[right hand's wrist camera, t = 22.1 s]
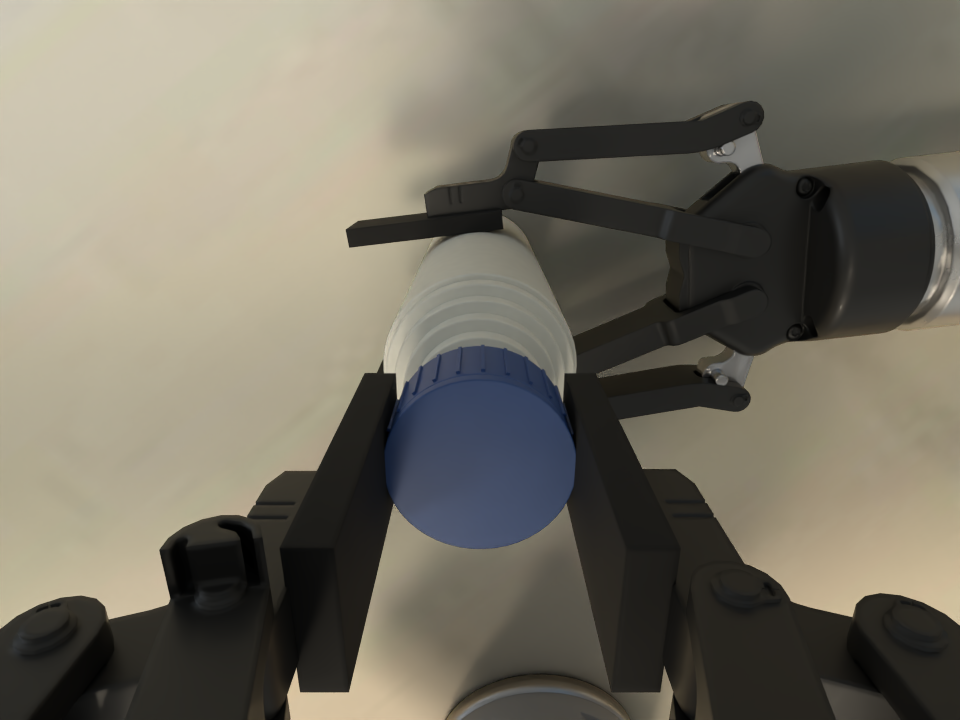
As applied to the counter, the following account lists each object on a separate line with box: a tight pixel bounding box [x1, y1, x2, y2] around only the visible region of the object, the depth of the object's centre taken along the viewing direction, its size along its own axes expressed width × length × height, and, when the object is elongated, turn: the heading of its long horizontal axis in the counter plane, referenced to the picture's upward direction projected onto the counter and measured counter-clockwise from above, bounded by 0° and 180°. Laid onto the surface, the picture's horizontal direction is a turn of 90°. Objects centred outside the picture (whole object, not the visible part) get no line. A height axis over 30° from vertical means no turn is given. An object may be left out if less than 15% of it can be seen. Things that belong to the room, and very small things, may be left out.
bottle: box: [383, 216, 577, 402], centre depth 23 cm, size 6×6×21 cm
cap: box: [384, 345, 576, 549], centre depth 14 cm, size 4×4×2 cm
